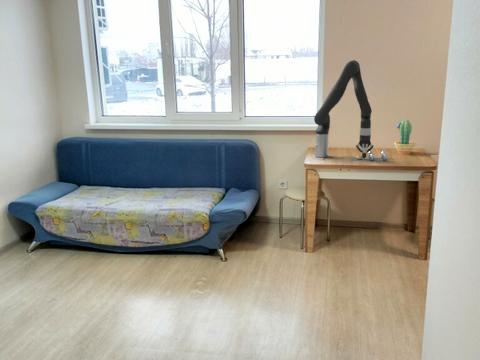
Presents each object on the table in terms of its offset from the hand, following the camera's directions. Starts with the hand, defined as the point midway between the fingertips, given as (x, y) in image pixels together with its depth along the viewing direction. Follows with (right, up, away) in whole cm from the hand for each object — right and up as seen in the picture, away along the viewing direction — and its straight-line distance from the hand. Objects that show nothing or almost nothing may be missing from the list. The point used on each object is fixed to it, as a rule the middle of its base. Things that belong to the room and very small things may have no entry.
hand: (364, 157), depth 319 cm
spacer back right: (+15, 0, +2) cm, 15 cm away
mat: (+3, -1, 0) cm, 3 cm away
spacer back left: (+6, 0, +3) cm, 7 cm away
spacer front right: (+13, -2, -6) cm, 15 cm away
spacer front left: (+4, -2, -5) cm, 7 cm away
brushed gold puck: (-3, -1, +1) cm, 4 cm away
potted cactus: (+35, +4, +18) cm, 40 cm away
